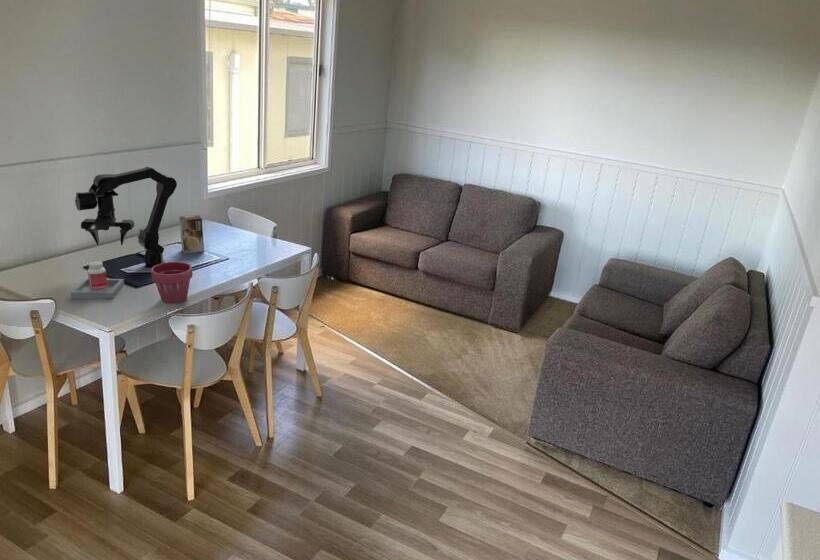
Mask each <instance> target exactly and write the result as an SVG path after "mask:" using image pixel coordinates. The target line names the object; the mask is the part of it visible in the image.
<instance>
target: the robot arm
mask: <svg viewBox="0 0 820 560" xmlns="http://www.w3.org/2000/svg"><path fill="white" fill-rule="evenodd" d="M145 179H146V180H147V179H151V180H153V181H154V182H156V196H155V200H154V203H153V206H152V210H151V212H150V215H149V219H148V222H147V224H146V227H145V228H144V229H143V228H142V229H141V228H140V230H139V235H138V236H137V239H138V240H137V241H138V242H137V243H138V244H139V246H141V247H142V248H143V249H144V252H145V253H144V257H143V258H144V265H145V266H146V267H145V268H152V267H154V266H156V265H158V264H161V263H165V261H164V257H163V255H164V254H163V253H164V250H165V247H163V246H162V245H161V244H159V242H160V241H159V240H160V237H159V229H160V226H161V223H162V220H163V216H164V213H165V211H166V207H167V204H168V201H169V199H170V197H171V196H172V195H173V194H174V193H175V191H176V188H177V186H178V183H177V181H176V179H175V178H173V177H172V176H169V175H166V174H162V173H161V172H159V171H157V170H156V169H154V167H153V168H152V167H151V166H145V167H143V168H139V169H134V170H130V171H125V172H122V173H118V174H117V173H116V174H113V173H111V174H110V173H109V174H107V173H106V174H105V173H104V174H98V175H96V176H94V177H93V180H92V181H93V183H92V185H91V186H90V187H89V189H88V191H85V192H79V191H78V192H76V193H75V199H74V202H75V203H74V204H75V206H76V209H77V211H86V210H87V211H88V210H94V209H96V208H97V209H98V210H97V213H96V214H97V216H96V218H85V219H84V220H82V221H81V222H80V229H81V230H84V231H85V232H88V233H89V234H90V235H91V236H92V238H93V240H94V242H95V243H96V245H98V246H99V244H100V237H99V236H100V235H99V231H108V230H110V228H113V227H114V228H120V230H119V233H120V245H121V246H123V245H124V243H125V240H126V239H125V238H126V235H127V234H128V232H129V231H131V230H132V229H133V228H134V227H135V222H134V220H133V219H122V220H121V221H117V217H116V214H115V211H116V208H115V205H114V197H116V196H119V193H118V192H116V191H115V190H116V189H117V188H119V187H120V186H122V185H127V184H131V183H134V182H139V181H143V180H145ZM163 261H164V262H163Z"/></svg>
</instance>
